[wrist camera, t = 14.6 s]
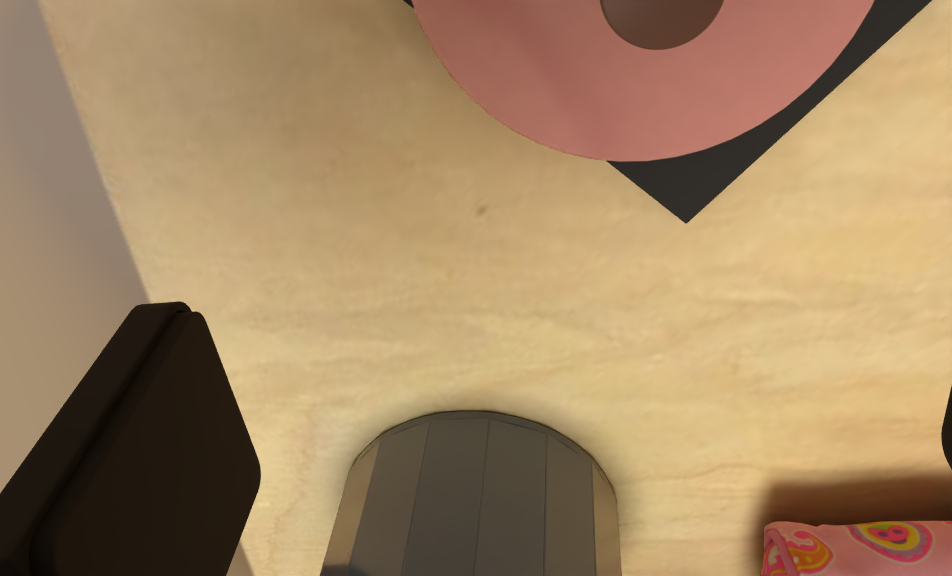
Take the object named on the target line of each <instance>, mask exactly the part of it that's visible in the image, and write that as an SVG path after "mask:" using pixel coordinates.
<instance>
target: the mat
mask: <svg viewBox="0 0 952 576" xmlns="http://www.w3.org/2000/svg"><path fill="white" fill-rule="evenodd" d="M404 1H405V2H406V3H407V4H409V5H410V6H411V7H412V8H414V6H413V3H412V1H411V0H404ZM931 1H932V0H874V2H873V4H872V6H871V8H870V10H869V12H868V13H867V15H866V17H865V18H864V20H863V21H862V23H861V25H860V26H859V28H858V30H857V31H856V33H855V35H854V36H853V38H852V39H851V40H850V42H849V43H848V44H847V45H846V47H845V48H844V49H843V51H842V52H841V53H840V54H839V56H838V57H837V58H836V60H835V61H834V62H833V63H832V65H831V66H830V67H829V68H828V69H827V70H826V71H825V72H824V73H823V74H822V75H821V76H820V77H819V78H818V79H817V80H816V81H815V82H814V83H813V84H812V85H811V86H810V87H809V88H808V89H807V90H806V91H805V92H803V93H802V94H801V95H800V96H798V97H797V98H796V99H795V100H794V101H792V102H791V103H790V104H789V105H788V106H786V107H785V108H784V109H782V110H781V111H779V112H778V113H776V114H775V115H773V116H772V117H770V118H769V119H767V120H766V121H764V122H763V123H761V124H760V125H758V126H756V127H754V128H752V129H750V130H748V131H746V132H744V133H743V134H741V135H739V136H737V137H735V138H733V139H731V140H728V141H725V142H723V143H720V144H718V145H715V146H712V147H710V148H707V149H704V150H701V151H697V152H693V153H689V154H685V155H681V156H678V157H672V158H665V159H658V160H650V161H621V162H619V161H609V160H606V161H607V162H609V163H610V164H611V165H612V166H614V167H615V168H616V169H617V170H619V171H620V172H621V173H622V174H624V175H625V176H626V177H627V178H629V179H630V180H631V181H633V182H634V183H635V184H636V185H638V186H639V187H640V188H641V189H643V190H644V191H645V192H646V193H648V194H649V195H650V196H652V197H653V198H654V199H655V200H657V201H658V202H659V203H660V204H662V205H663V206H664V207H665V208H667V209H668V210H669V211H671V212H672V213H673V214H674V215H676V216H677V217H678V218H679V219H681V220H682V221H683V222H684V223H688V222H689V221H690V220H691V219H692V218H693V217H694V216H695V215H696V214H698V213H699V212H700V211H701V210H702V209H703V208H704V207H705V206H706V205H707V204H709V203H710V202H711V201H712V200H713V199H714V198H715V197H716V196H717V195H718V194H720V193H721V192H722V191H723V190H724V189H725V188H726V187H727V186H728V185H729V184H731V183H732V182H733V181H734V180H735V179H736V178H737V177H738V176H739V175H740V174H742V173H743V172H744V171H745V170H746V169H747V168H748V167H749V166H750V165H751V164H753V163H754V162H755V161H756V160H757V159H758V158H759V157H760V156H761V155H762V154H764V153H765V152H766V151H767V150H768V149H769V148H770V147H771V146H772V145H773V144H774V143H776V142H777V141H778V140H779V139H780V138H781V137H782V136H783V135H784V134H785V133H787V132H788V131H789V130H790V129H791V128H792V127H793V126H794V125H795V124H796V123H798V122H799V121H800V120H801V119H802V118H803V117H804V116H805V115H806V114H807V113H809V112H810V111H811V110H812V109H813V108H814V107H815V106H816V105H817V104H818V103H820V102H821V101H822V100H823V99H824V98H825V97H826V96H827V95H828V94H829V93H831V92H832V91H833V90H834V89H835V88H836V87H837V86H838V85H839V84H840V83H842V82H843V81H844V80H845V79H846V78H847V77H848V76H849V75H850V74H851V73H853V72H854V71H855V70H856V69H857V68H858V67H859V66H860V65H861V64H862V63H864V62H865V61H866V60H867V59H868V58H869V57H870V56H871V55H872V54H873V53H875V52H876V51H877V50H878V49H879V48H880V47H881V46H882V45H883V44H884V43H886V42H887V41H888V40H889V39H890V38H891V37H892V36H893V35H894V34H895V33H897V32H898V31H899V30H900V29H901V28H902V27H903V26H904V25H905V24H906V23H907V22H909V21H910V20H911V19H912V18H913V17H914V16H915V15H916V14H917V13H918V12H920V11H921V10H922V9H923V8H924V7H925V6H926V5H927V4H928V3H929V2H931Z"/></svg>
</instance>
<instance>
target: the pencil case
mask: <svg viewBox="0 0 952 576" xmlns="http://www.w3.org/2000/svg"><path fill="white" fill-rule="evenodd" d="M760 576H952V521H884V522H870V523H862V524H853V525H826V524H823V525H819V526H817V527H815V526H812V525H808V524H804V523H795V522H789V521H781V522H773V523H770V524H768V525H767V526H766V527H765V528H764V550H763V567H762V571H761V575H760Z"/></svg>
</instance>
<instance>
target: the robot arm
mask: <svg viewBox="0 0 952 576" xmlns="http://www.w3.org/2000/svg"><path fill="white" fill-rule="evenodd" d="M941 435H942V446H943V451H944V454H945V457H946V459H947V462H948V463H949V465H950V467H951V469H952V387H951V391H950V395H949V400H948V404H947V409H946V413H945V417H944V422H943V426H942V433H941ZM260 479H261V470H260V464H259V460H258V457H257V455H256V452H255V449H254V447H253V444H252V441H251V439H250V436H249V433H248V431H247V428H246V426H245V423H244V420H243V418H242V415H241V412H240V410H239V407H238V404H237V402H236V399H235V397H234V394H233V391H232V389H231V386H230V383H229V381H228V378H227V376H226V373H225V370H224V368H223V365H222V362H221V360H220V357H219V354H218V352H217V349H216V347H215V344H214V341H213V339H212V336H211V333H210V331H209V328H208V325H207V323H206V321H205V319H204V317H203V315H202V314H201V313H199V312H192V311H191V309H190V308H189V307H188V306H187V305H186V303H183V302H167V303H154V304H141V305H137V306H136V307H135V308H134V309H132V310H131V312H130V313H129V314H128V316H127V317H126V319H125V320H124V322H123V323H122V324H121V326H120V327H119V328H118V330H117V331H116V333H115V334H114V335H113V337H112V338H111V340H110V341H109V343H108V344H107V345H106V347H105V348H104V349H103V351H102V352H101V354H100V355H99V356H98V358H97V359H96V361H95V362H94V363H93V365H92V366H91V367H90V369H89V370H88V372H87V373H86V374H85V376H84V377H83V379H82V380H81V381H80V383H79V384H78V386H77V387H76V389H75V390H74V391H73V393H72V394H71V395H70V397H69V398H68V400H67V401H66V402H65V404H64V405H63V407H62V408H61V409H60V411H59V412H58V414H57V415H56V416H55V418H54V419H53V421H52V422H51V423H50V425H49V426H48V428H47V429H46V431H45V432H44V433H43V435H42V436H41V437H40V439H39V440H38V441H37V443H36V444H35V446H34V447H33V448H32V450H31V451H30V453H29V454H28V456H27V457H26V458H25V460H24V461H23V463H22V464H21V465H20V467H19V468H18V470H17V471H16V472H15V474H14V475H13V476H12V478H11V479H10V481H9V482H8V483H7V485H6V486H5V488H4V489H3V490H2V492H1V493H0V576H226V574H227V572H228V569H229V566H230V564H231V561H232V558H233V555H234V553H235V550H236V548H237V545H238V543H239V540H240V537H241V535H242V532H243V529H244V527H245V524H246V522H247V519H248V516H249V514H250V511H251V508H252V506H253V503H254V500H255V498H256V495H257V493H258V490H259V486H260Z"/></svg>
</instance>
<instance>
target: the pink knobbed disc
mask: <svg viewBox="0 0 952 576" xmlns="http://www.w3.org/2000/svg"><path fill="white" fill-rule="evenodd" d="M411 1H412V3H413V6H414V9H415V12H416V14H417V17H418V20H419V23H420V25H421V27H422V29H423V31H424V33H425V35H426V37H427V39H428V41H429V43H430V45H431V46H432V48H433V50H434V52H435V54H436V55H437V56H438V58H439V59H440V61H441V62H442V64H443V65H444V67H445V68H446V70H447V71H448V73H449V74H450V75H451V77H452V78H453V79H454V80H455V81H456V82H457V83H458V84H459V86H460V87H461V88H462V89H463V90H464V91H465V92H466V94H467V95H468V96H469V97H470V98H471V99H472V100H474V101H475V102H476V103H477V104H478V105H479V106H480V107H482V108H483V109H484V110H485V111H486V112H487V113H488V114H490V115H491V116H492V117H494V118H495V119H497V120H498V121H500V122H501V123H503V124H504V125H506V126H507V127H509V128H510V129H511V130H513V131H515V132H517V133H519V134H521V135H523V136H525V137H527V138H529V139H531V140H532V141H534V142H536V143H538V144H541V145H544V146H547V147H550V148H552V149H555V150H558V151H561V152H564V153H568V154H572V155H577V156H581V157H586V158H590V159H598V160H609V161H619V162H621V161H650V160H658V159H665V158H672V157H678V156H681V155H685V154H689V153H693V152H697V151H701V150H704V149H707V148H710V147H712V146H715V145H718V144H720V143H723V142H725V141H728V140H731V139H733V138H735V137H737V136H739V135H741V134H743V133H744V132H746V131H748V130H750V129H752V128H754V127H756V126H758V125H760V124H761V123H763V122H764V121H766V120H767V119H769V118H770V117H772V116H773V115H775V114H776V113H778V112H779V111H781V110H782V109H784V108H785V107H786V106H788V105H789V104H790V103H791V102H792V101H794V100H795V99H796V98H797V97H798V96H800V95H801V94H802V93H803V92H805V91H806V90H807V89H808V88H809V87H810V86H811V85H812V84H813V83H814V82H815V81H816V80H817V79H818V78H819V77H820V76H821V75H822V74H823V73H824V72H825V71H826V70H827V69H828V68H829V67H830V66H831V65H832V63H833V62H834V61H835V60H836V58H837V57H838V56H839V54H840V53H841V52H842V51H843V49H844V48H845V47H846V45H847V44H848V43H849V42H850V40H851V39H852V38H853V36H854V35H855V33H856V31H857V30H858V28H859V26H860V25H861V23H862V21H863V20H864V18H865V17H866V15H867V13H868V12H869V10H870V8H871V6H872V4H873V2H874V0H411Z"/></svg>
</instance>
